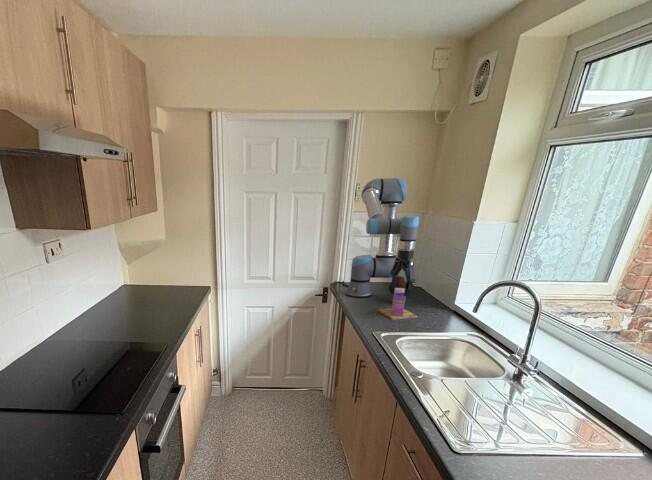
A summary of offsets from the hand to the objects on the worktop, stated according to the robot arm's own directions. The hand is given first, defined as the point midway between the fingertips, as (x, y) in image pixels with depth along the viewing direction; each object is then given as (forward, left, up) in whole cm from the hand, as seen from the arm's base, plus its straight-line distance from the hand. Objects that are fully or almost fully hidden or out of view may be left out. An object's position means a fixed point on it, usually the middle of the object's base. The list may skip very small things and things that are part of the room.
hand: (400, 292), depth 214 cm
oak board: (0, 0, -12) cm, 12 cm away
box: (0, 0, -11) cm, 11 cm away
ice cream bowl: (-21, +11, -12) cm, 26 cm away
